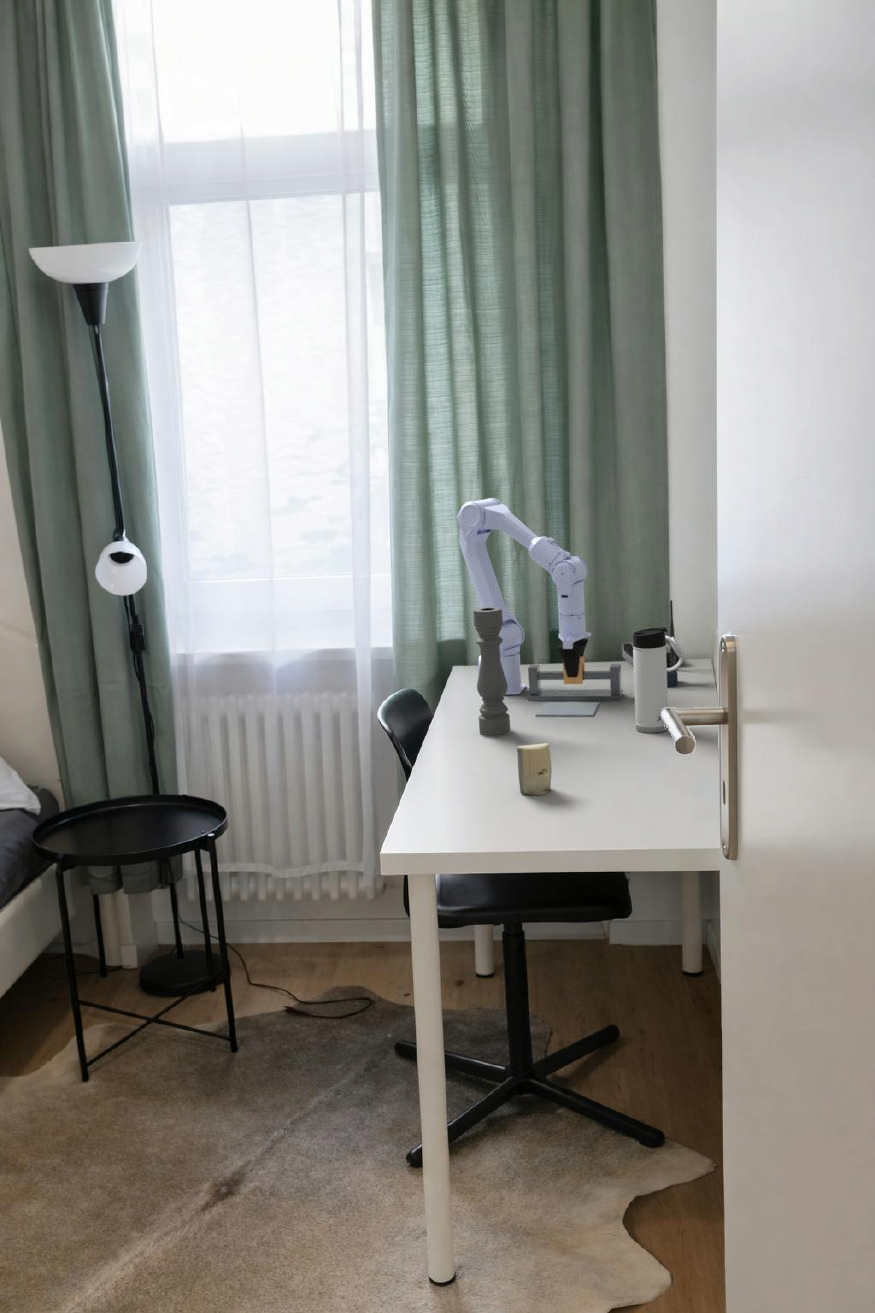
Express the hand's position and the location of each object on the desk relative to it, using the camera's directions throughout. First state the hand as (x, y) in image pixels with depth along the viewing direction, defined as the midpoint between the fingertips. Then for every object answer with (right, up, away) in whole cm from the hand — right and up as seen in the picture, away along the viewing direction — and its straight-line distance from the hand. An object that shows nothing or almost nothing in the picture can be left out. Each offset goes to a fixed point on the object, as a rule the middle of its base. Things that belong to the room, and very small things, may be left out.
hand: (574, 674), depth 247 cm
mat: (-3, -7, -9) cm, 12 cm away
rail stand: (0, -5, +1) cm, 5 cm away
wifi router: (+23, +2, +29) cm, 37 cm away
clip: (0, -2, 0) cm, 2 cm away
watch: (+22, -3, +7) cm, 23 cm away
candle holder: (-19, -11, -22) cm, 31 cm away
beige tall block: (-13, -19, -59) cm, 64 cm away
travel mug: (+12, -10, -28) cm, 32 cm away
